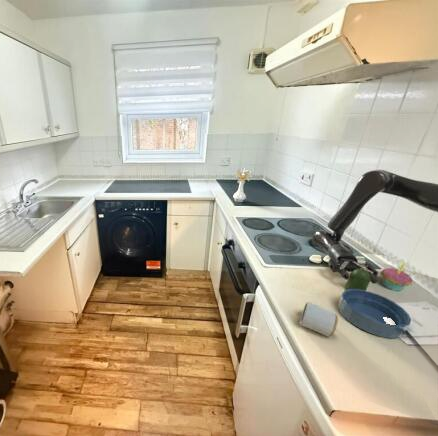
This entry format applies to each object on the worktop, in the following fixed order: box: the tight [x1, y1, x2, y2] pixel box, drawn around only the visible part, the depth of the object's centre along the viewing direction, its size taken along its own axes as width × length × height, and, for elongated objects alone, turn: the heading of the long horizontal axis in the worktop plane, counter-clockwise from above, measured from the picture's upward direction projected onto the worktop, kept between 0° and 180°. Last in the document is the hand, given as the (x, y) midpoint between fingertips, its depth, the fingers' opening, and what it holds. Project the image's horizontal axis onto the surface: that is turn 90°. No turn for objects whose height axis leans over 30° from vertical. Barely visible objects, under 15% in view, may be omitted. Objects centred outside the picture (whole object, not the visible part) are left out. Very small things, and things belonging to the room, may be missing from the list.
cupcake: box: [379, 262, 413, 292], centre depth 89 cm, size 9×8×12 cm
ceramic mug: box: [299, 301, 339, 337], centre depth 73 cm, size 11×8×8 cm
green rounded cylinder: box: [344, 268, 371, 291], centre depth 87 cm, size 6×6×10 cm
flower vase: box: [232, 167, 253, 203], centre depth 180 cm, size 13×18×25 cm
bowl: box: [337, 289, 412, 339], centre depth 76 cm, size 16×16×5 cm
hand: (361, 279), depth 86 cm, fingers open, 8 cm apart
